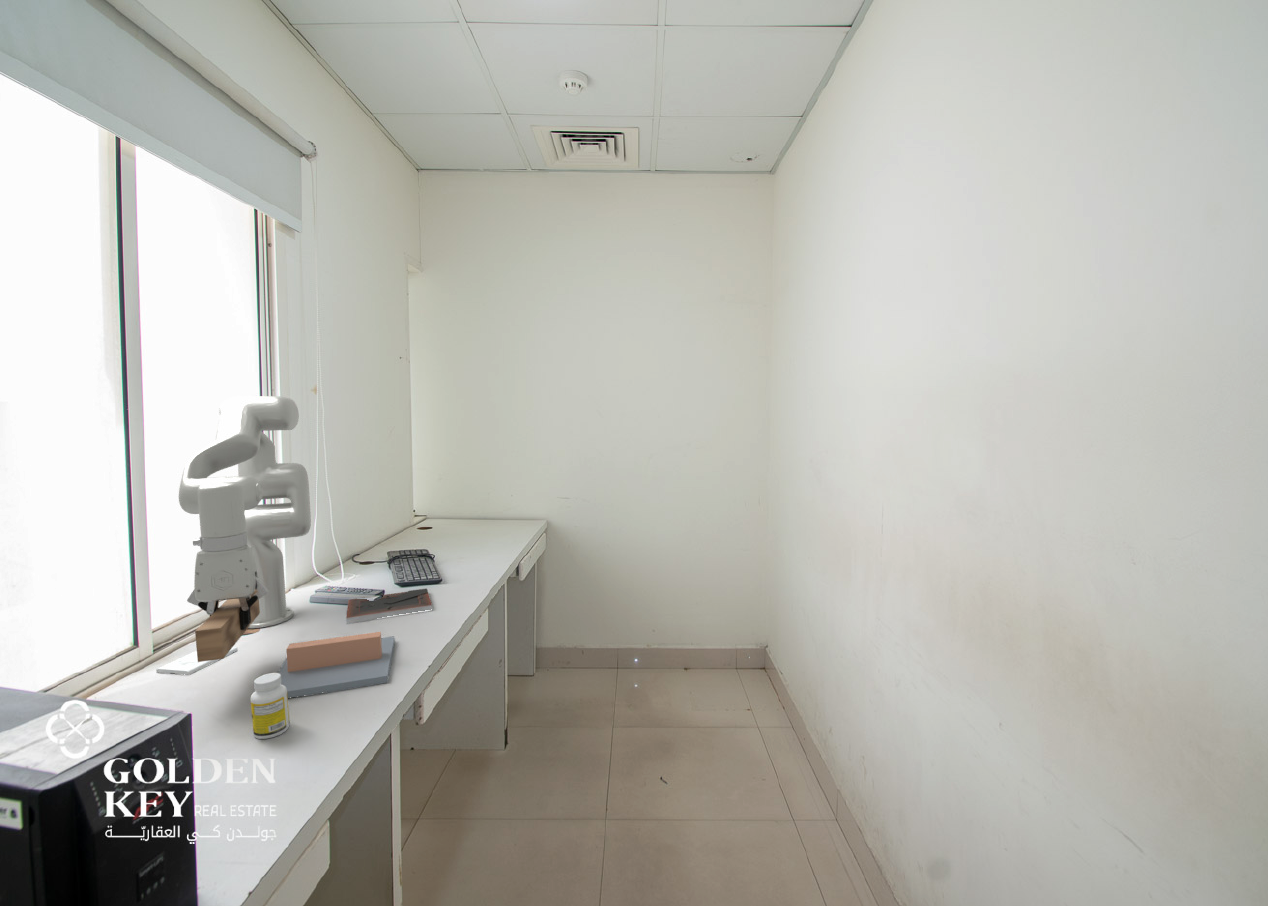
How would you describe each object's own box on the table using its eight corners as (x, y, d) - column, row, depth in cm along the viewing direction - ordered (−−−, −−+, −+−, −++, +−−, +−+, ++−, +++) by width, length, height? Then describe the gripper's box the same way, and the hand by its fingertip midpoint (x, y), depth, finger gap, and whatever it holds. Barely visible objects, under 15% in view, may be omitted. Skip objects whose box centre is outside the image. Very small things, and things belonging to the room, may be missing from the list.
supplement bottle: (264, 723, 102) (260, 671, 101) (295, 722, 103) (292, 669, 102) (246, 741, 97) (242, 686, 96) (279, 739, 97) (275, 684, 96)
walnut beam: (239, 615, 128) (237, 589, 127) (259, 613, 129) (258, 587, 128) (197, 662, 105) (195, 631, 104) (223, 658, 106) (220, 628, 106)
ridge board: (291, 656, 130) (289, 629, 130) (394, 642, 138) (393, 616, 137) (264, 702, 110) (262, 670, 109) (387, 682, 117) (386, 652, 116)
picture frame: (427, 596, 174) (348, 607, 165) (426, 588, 174) (348, 598, 165) (432, 613, 159) (346, 626, 150) (432, 604, 159) (346, 617, 150)
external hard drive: (237, 653, 134) (188, 677, 122) (208, 651, 135) (156, 675, 123) (237, 646, 134) (187, 670, 122) (207, 644, 135) (155, 668, 123)
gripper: (166, 551, 109) (174, 642, 111) (267, 543, 114) (273, 630, 116) (182, 542, 116) (190, 628, 118) (276, 534, 121) (282, 617, 123)
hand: (231, 628), depth 117 cm, fingers closed on walnut beam, 4 cm apart
